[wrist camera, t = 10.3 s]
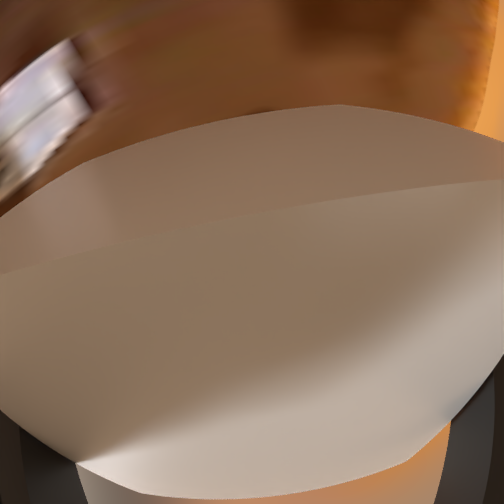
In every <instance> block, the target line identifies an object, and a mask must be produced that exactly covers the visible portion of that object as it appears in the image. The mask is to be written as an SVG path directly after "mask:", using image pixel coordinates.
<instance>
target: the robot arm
mask: <svg viewBox="0 0 504 504" xmlns="http://www.w3.org/2000/svg"><path fill="white" fill-rule="evenodd" d="M0 504H88V502H87V499H86V496H85V493H84V490H83V487H82V485H81V482H80V479H79V475H78V471H77V468H76V465H75V462H73V461H71V460H69V459H68V458H66V457H64V456H63V455H61V454H59V453H58V452H56V451H55V450H53V449H51V448H50V447H48V446H47V445H45V444H44V443H42V442H41V441H39V440H38V439H37V438H35V437H34V436H32V435H31V434H30V433H28V432H27V431H26V430H24V429H23V428H22V427H20V426H19V425H18V424H17V423H15V422H14V421H13V420H12V419H10V418H9V417H8V416H7V415H6V414H4V413H3V412H2V411H1V410H0ZM434 504H504V354H503V356H502V357H501V359H500V360H499V362H498V363H497V365H496V366H495V368H494V369H493V370H492V372H491V373H490V374H489V376H488V377H487V378H486V380H485V381H484V382H483V384H482V385H481V386H480V387H479V389H478V390H477V391H476V392H475V394H474V395H473V396H472V397H471V398H470V400H469V401H468V402H467V403H466V404H465V405H464V407H463V408H462V409H461V410H460V411H459V412H458V413H457V414H456V415H455V416H454V418H453V419H452V420H451V427H450V434H449V440H448V447H447V452H446V457H445V462H444V467H443V472H442V476H441V480H440V484H439V487H438V491H437V495H436V498H435V502H434Z"/></svg>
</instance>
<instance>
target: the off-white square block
mask: <svg viewBox="0 0 504 504" xmlns="http://www.w3.org/2000/svg"><path fill="white" fill-rule="evenodd" d="M503 354H504V142H501V141H498V140H496V139H493V138H490V137H487V136H485V135H482V134H479V133H476V132H473V131H470V130H466V129H463V128H460V127H456V126H453V125H449V124H446V123H442V122H438V121H434V120H430V119H426V118H421V117H417V116H412V115H407V114H402V113H397V112H391V111H385V110H379V109H373V108H365V107H358V106H349V105H326V106H314V107H303V108H294V109H286V110H279V111H272V112H265V113H259V114H253V115H247V116H241V117H236V118H231V119H226V120H221V121H217V122H212V123H208V124H203V125H199V126H195V127H191V128H187V129H183V130H179V131H176V132H172V133H169V134H165V135H162V136H158V137H155V138H152V139H148V140H145V141H142V142H139V143H136V144H133V145H130V146H127V147H124V148H121V149H119V150H116V151H113V152H110V153H108V154H105V155H102V156H100V157H97V158H95V159H92V160H90V161H87V162H85V163H83V164H81V165H79V166H77V167H75V168H74V169H72V170H70V171H68V172H67V173H65V174H63V175H62V176H60V177H58V178H57V179H55V180H53V181H52V182H50V183H49V184H47V185H46V186H44V187H42V188H41V189H39V190H38V191H36V192H35V193H33V194H32V195H30V196H29V197H28V198H26V199H25V200H23V201H22V202H20V203H19V204H18V205H16V206H15V207H13V208H12V209H11V210H9V211H8V212H7V213H5V214H4V215H3V216H2V217H0V410H1V411H2V412H3V413H4V414H6V415H7V416H8V417H9V418H10V419H12V420H13V421H14V422H15V423H17V424H18V425H19V426H20V427H22V428H23V429H24V430H26V431H27V432H28V433H30V434H31V435H32V436H34V437H35V438H37V439H38V440H39V441H41V442H42V443H44V444H45V445H47V446H48V447H50V448H51V449H53V450H55V451H56V452H58V453H59V454H61V455H63V456H64V457H66V458H68V459H69V460H71V461H73V462H75V463H77V464H78V465H80V466H82V467H84V468H86V469H88V470H90V471H92V472H93V473H96V474H98V475H100V476H102V477H104V478H106V479H108V480H110V481H112V482H115V483H117V484H119V485H122V486H124V487H127V488H129V489H132V490H134V491H137V492H139V493H144V494H151V495H158V496H167V497H177V498H193V499H244V498H258V497H268V496H277V495H285V494H292V493H298V492H304V491H309V490H315V489H319V488H324V487H328V486H333V485H337V484H341V483H344V482H348V481H351V480H355V479H358V478H362V477H365V476H368V475H371V474H374V473H377V472H380V471H383V470H385V469H388V468H391V467H393V466H396V465H399V464H401V463H403V462H405V461H407V460H408V459H410V458H411V457H412V456H413V455H414V454H415V453H417V452H418V451H419V450H420V449H421V448H423V447H424V446H425V445H426V444H427V443H428V442H429V441H430V440H431V439H432V438H434V437H435V436H436V435H437V434H438V433H439V432H440V431H441V430H442V429H443V428H444V427H445V426H446V425H447V424H448V423H449V422H450V421H451V420H452V419H453V418H454V416H455V415H456V414H457V413H458V412H459V411H460V410H461V409H462V408H463V407H464V405H465V404H466V403H467V402H468V401H469V400H470V398H471V397H472V396H473V395H474V394H475V392H476V391H477V390H478V389H479V387H480V386H481V385H482V384H483V382H484V381H485V380H486V378H487V377H488V376H489V374H490V373H491V372H492V370H493V369H494V368H495V366H496V365H497V363H498V362H499V360H500V359H501V357H502V356H503Z"/></svg>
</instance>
